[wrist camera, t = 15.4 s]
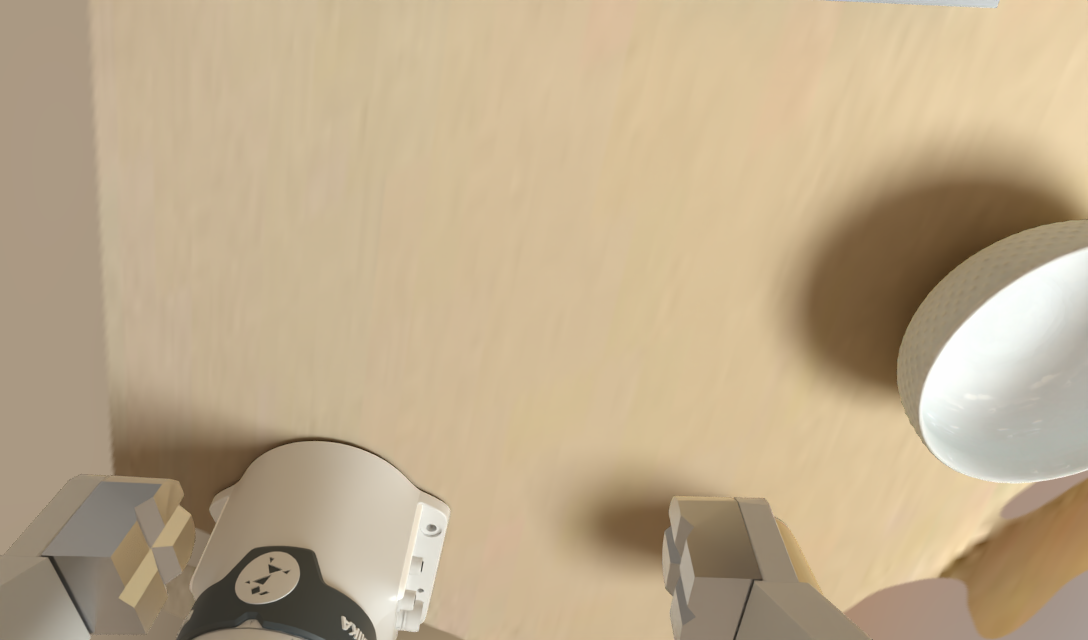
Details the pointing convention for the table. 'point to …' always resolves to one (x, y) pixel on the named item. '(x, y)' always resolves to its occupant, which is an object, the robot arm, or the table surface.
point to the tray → (937, 2)
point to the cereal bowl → (1005, 359)
